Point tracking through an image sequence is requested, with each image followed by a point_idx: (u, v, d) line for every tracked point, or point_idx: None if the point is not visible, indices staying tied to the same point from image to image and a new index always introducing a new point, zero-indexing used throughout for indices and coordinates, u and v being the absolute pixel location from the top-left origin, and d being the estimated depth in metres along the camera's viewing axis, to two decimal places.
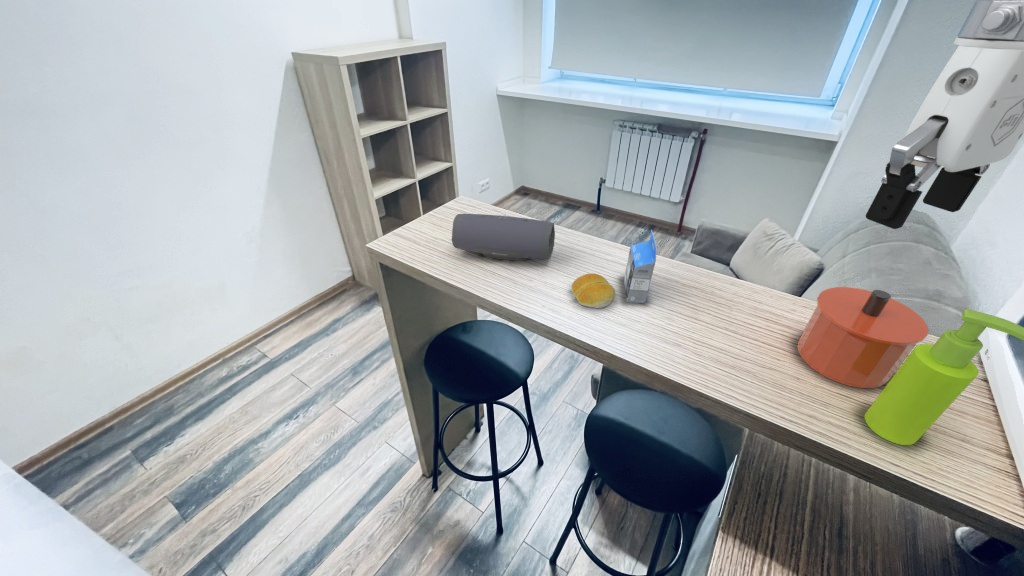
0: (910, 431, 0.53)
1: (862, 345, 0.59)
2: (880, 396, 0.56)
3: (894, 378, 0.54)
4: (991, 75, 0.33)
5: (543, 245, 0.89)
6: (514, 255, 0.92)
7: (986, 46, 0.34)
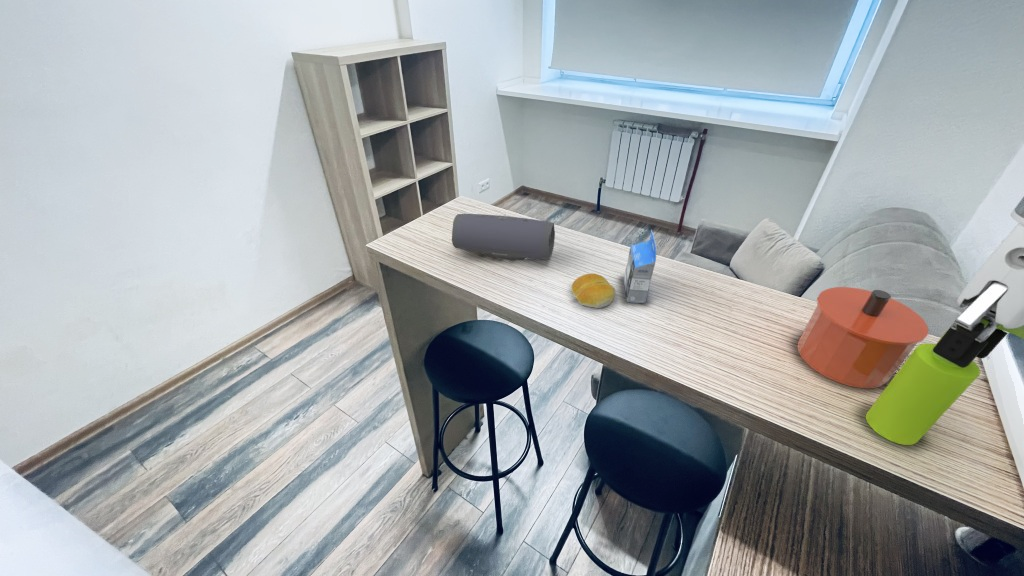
0: (911, 430, 0.53)
1: (862, 345, 0.59)
2: (881, 396, 0.56)
3: (896, 378, 0.54)
4: None
5: (543, 245, 0.89)
6: (514, 255, 0.92)
7: None
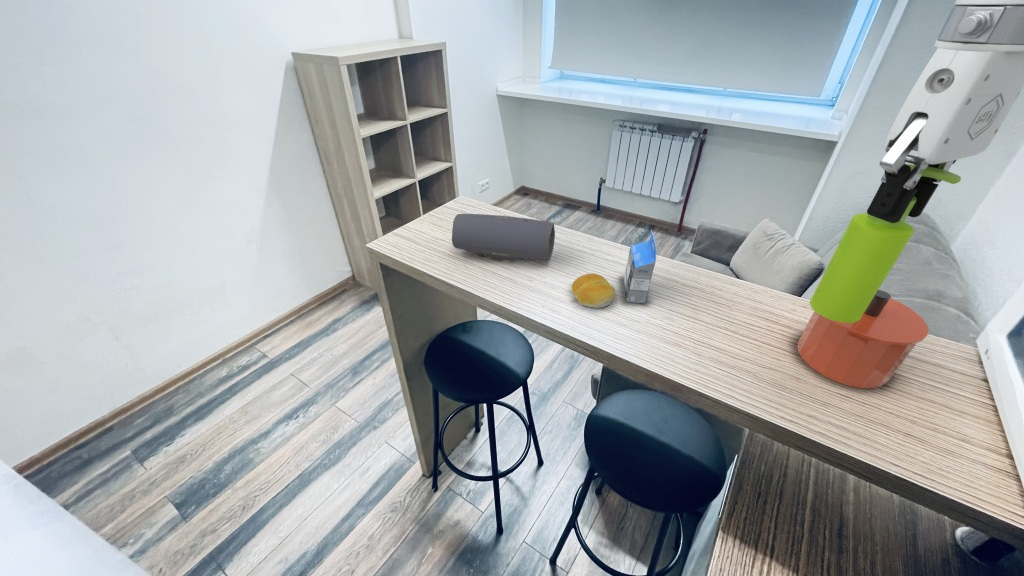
0: (850, 305, 0.52)
1: (862, 345, 0.59)
2: (823, 275, 0.55)
3: (835, 252, 0.53)
4: (966, 75, 0.36)
5: (543, 245, 0.89)
6: (514, 255, 0.92)
7: (962, 48, 0.37)
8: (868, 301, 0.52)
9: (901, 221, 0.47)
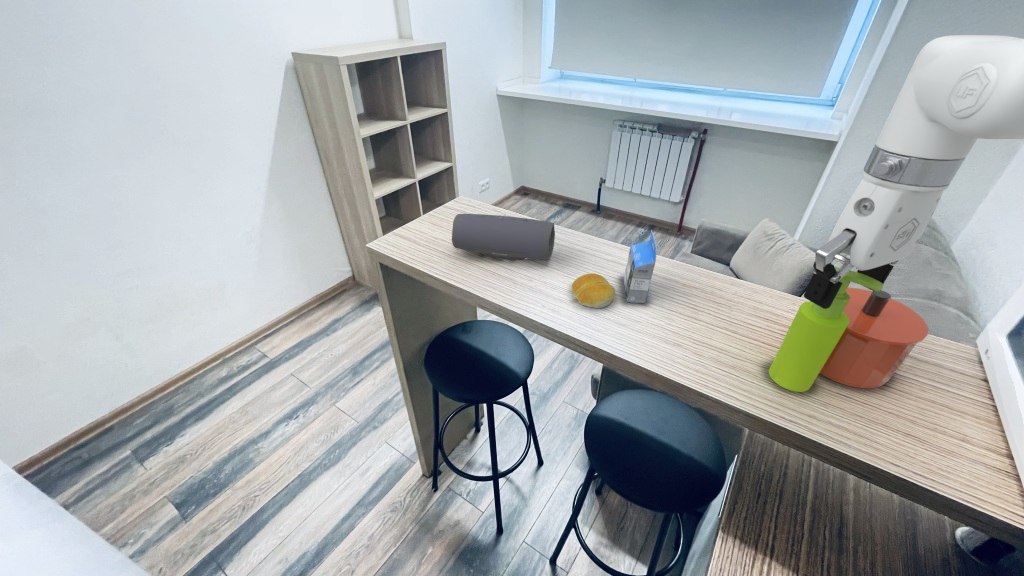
0: (800, 378, 0.61)
1: (862, 345, 0.59)
2: (779, 349, 0.64)
3: (787, 332, 0.61)
4: (883, 207, 0.44)
5: (543, 245, 0.89)
6: (514, 255, 0.92)
7: (880, 183, 0.44)
8: (815, 375, 0.61)
9: (838, 315, 0.55)
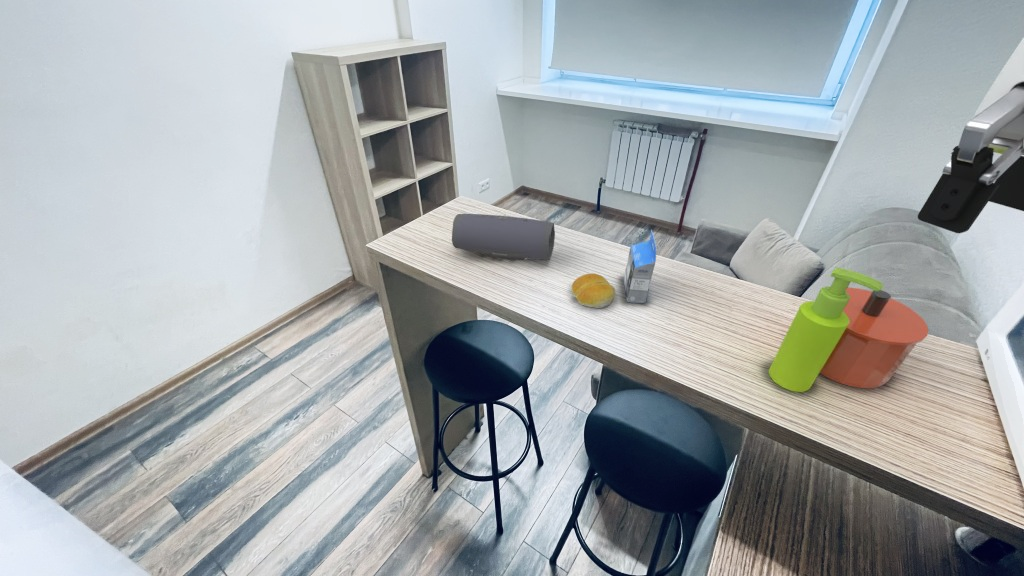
0: (800, 378, 0.61)
1: (862, 345, 0.59)
2: (779, 349, 0.64)
3: (787, 332, 0.61)
4: None
5: (543, 245, 0.89)
6: (514, 255, 0.92)
7: None
8: (815, 375, 0.61)
9: (838, 315, 0.55)
